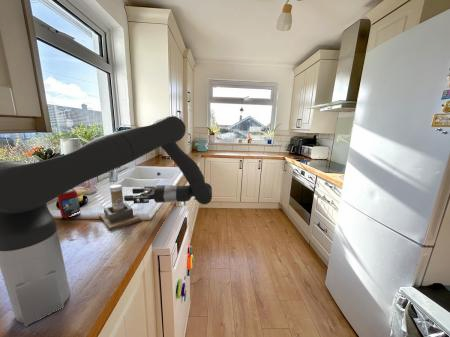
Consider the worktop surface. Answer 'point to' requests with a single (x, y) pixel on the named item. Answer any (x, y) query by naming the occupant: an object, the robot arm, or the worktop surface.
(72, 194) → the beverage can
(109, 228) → the socket board
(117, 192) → the sprinkles bottle
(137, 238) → the worktop surface
